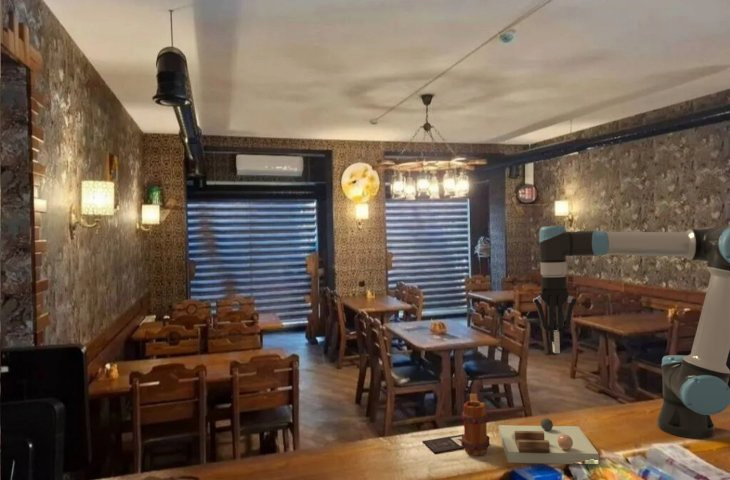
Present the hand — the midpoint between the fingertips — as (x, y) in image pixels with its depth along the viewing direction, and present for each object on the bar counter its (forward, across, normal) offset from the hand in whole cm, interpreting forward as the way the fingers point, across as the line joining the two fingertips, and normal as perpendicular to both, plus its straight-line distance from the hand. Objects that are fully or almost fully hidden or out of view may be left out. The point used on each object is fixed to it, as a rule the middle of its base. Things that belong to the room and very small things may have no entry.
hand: (556, 352), depth 158 cm
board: (+26, +6, +9) cm, 28 cm away
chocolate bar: (+27, +32, +6) cm, 42 cm away
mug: (+27, +26, +10) cm, 38 cm away
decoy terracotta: (+21, +2, +16) cm, 27 cm away
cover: (+23, +11, +16) cm, 30 cm away
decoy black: (+22, +4, +2) cm, 22 cm away
